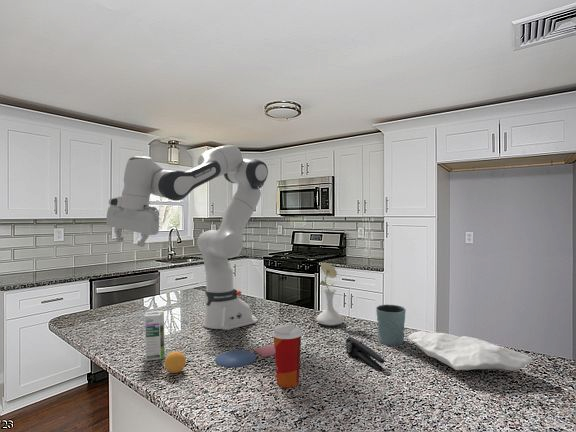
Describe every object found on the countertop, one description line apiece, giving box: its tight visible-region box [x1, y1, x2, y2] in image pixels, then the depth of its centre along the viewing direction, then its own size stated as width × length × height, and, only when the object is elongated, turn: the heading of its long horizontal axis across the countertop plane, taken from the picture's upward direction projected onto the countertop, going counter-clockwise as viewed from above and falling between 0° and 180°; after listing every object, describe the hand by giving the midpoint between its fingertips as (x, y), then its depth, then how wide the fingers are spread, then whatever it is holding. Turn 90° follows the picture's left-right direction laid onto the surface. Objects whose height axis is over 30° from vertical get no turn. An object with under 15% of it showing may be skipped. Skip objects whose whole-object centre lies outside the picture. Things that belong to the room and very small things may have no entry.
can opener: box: [345, 336, 385, 372], centre depth 117 cm, size 18×7×6 cm, turn 23°
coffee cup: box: [271, 324, 303, 389], centre depth 102 cm, size 8×8×15 cm
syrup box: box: [144, 310, 166, 362], centre depth 122 cm, size 6×6×14 cm
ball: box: [164, 350, 187, 374], centre depth 110 cm, size 6×6×6 cm
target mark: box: [214, 349, 257, 368], centre depth 120 cm, size 13×13×1 cm
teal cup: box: [375, 304, 406, 347], centre depth 133 cm, size 10×10×12 cm
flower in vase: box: [315, 262, 345, 326], centre depth 155 cm, size 13×11×25 cm
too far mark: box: [253, 344, 275, 358], centre depth 126 cm, size 8×8×1 cm
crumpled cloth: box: [406, 330, 533, 372], centre depth 112 cm, size 24×35×9 cm
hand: (129, 243), depth 127 cm, fingers open, 8 cm apart
